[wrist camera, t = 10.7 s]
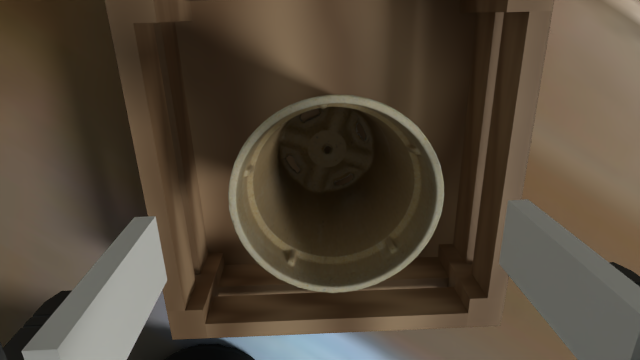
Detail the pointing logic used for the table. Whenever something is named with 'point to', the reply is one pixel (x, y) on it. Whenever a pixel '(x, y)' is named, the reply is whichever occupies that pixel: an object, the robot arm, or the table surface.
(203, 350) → the coffee jar
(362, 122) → the flower pot
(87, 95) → the table surface
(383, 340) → the table surface
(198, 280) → the crate
